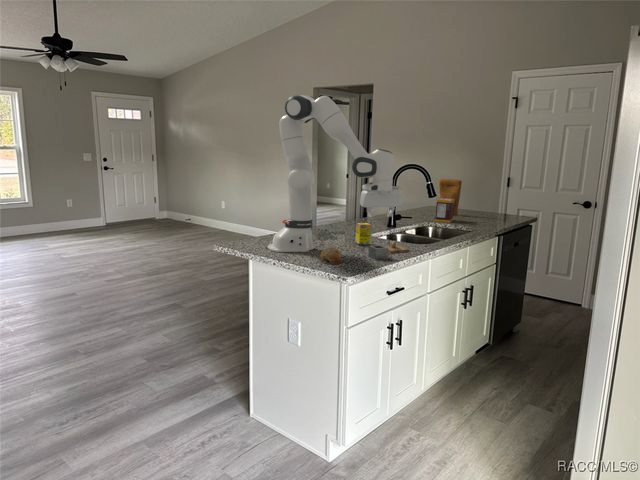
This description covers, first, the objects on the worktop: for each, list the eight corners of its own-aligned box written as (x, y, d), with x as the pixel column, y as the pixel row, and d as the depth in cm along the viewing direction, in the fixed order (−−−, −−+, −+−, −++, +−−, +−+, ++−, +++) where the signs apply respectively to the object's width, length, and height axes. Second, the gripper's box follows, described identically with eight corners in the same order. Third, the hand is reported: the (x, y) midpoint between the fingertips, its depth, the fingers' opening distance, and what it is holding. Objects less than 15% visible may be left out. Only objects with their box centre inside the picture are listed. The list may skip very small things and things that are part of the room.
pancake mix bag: (456, 216, 355) (460, 180, 350) (435, 213, 368) (438, 178, 363) (460, 216, 360) (464, 179, 354) (439, 212, 373) (442, 178, 368)
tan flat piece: (389, 253, 222) (390, 244, 221) (378, 248, 232) (378, 240, 231) (409, 251, 226) (409, 243, 226) (397, 247, 236) (397, 239, 235)
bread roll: (317, 269, 201) (315, 255, 197) (325, 255, 209) (323, 241, 205) (339, 272, 198) (337, 258, 194) (346, 258, 206) (344, 243, 201)
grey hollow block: (375, 259, 208) (375, 248, 207) (368, 256, 214) (368, 245, 213) (387, 258, 211) (388, 248, 210) (380, 255, 216) (380, 245, 215)
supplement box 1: (359, 245, 236) (360, 224, 234) (355, 243, 242) (356, 222, 240) (369, 245, 238) (371, 224, 236) (365, 243, 244) (366, 222, 241)
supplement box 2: (453, 220, 337) (455, 198, 334) (449, 222, 324) (451, 200, 321) (438, 218, 342) (440, 197, 338) (434, 221, 328) (436, 199, 325)
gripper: (398, 185, 213) (396, 215, 215) (359, 185, 205) (357, 216, 207) (406, 186, 207) (403, 217, 210) (365, 186, 199) (364, 218, 202)
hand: (380, 216), depth 208 cm, fingers open, 8 cm apart
